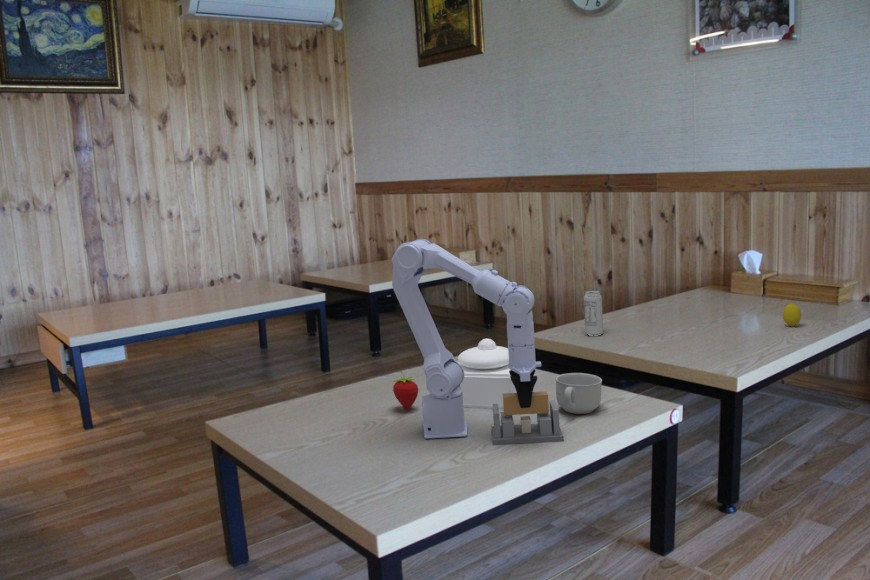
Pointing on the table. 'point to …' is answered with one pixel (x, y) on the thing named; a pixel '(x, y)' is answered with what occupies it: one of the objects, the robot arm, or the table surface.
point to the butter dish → (485, 375)
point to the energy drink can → (593, 313)
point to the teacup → (578, 392)
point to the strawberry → (405, 391)
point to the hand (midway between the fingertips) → (524, 404)
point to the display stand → (526, 428)
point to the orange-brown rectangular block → (537, 406)
